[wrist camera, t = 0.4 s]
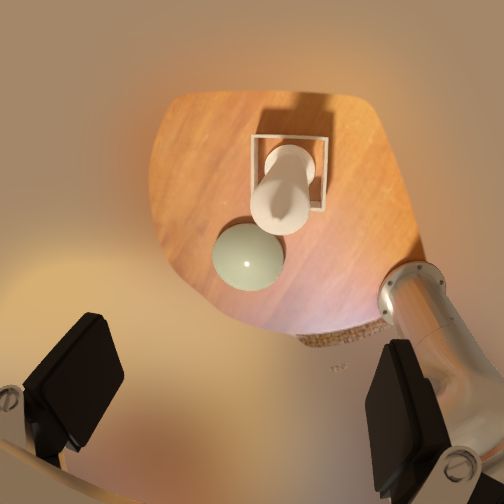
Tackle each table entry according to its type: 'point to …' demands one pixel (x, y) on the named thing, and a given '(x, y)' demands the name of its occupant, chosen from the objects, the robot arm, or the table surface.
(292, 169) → the candle
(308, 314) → the table surface
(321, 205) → the tray
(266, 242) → the pale green dome
